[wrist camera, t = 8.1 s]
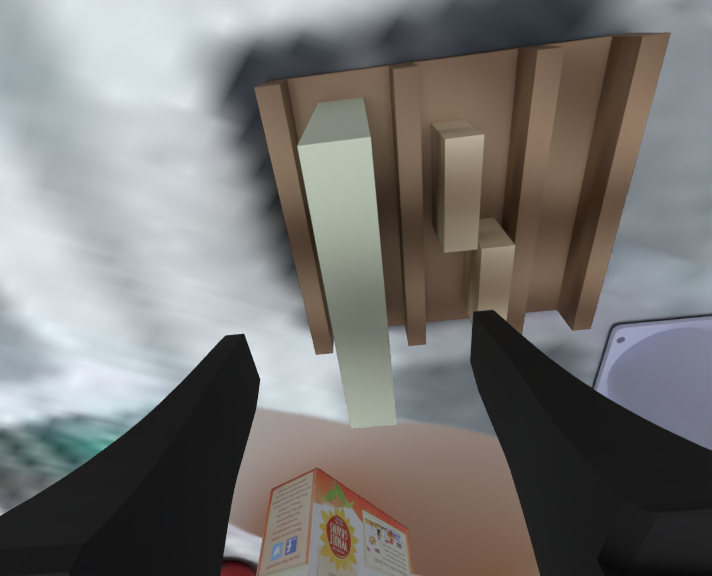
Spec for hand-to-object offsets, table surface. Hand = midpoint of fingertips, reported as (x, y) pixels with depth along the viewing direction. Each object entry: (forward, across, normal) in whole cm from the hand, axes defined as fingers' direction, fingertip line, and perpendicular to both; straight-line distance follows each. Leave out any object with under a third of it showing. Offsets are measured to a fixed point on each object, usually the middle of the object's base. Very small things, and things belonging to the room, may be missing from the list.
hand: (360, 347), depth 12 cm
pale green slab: (+10, 0, 0) cm, 10 cm away
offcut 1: (+10, -5, -2) cm, 11 cm away
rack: (+10, -5, 0) cm, 12 cm away
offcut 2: (+10, -6, +3) cm, 12 cm away
